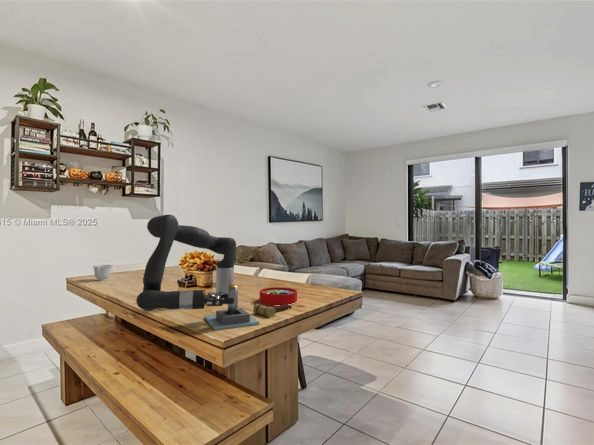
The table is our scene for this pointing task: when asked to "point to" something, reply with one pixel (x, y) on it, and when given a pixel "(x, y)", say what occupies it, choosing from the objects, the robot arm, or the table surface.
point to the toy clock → (278, 296)
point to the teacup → (102, 271)
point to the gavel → (269, 309)
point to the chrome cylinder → (234, 294)
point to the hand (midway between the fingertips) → (233, 298)
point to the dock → (219, 326)
